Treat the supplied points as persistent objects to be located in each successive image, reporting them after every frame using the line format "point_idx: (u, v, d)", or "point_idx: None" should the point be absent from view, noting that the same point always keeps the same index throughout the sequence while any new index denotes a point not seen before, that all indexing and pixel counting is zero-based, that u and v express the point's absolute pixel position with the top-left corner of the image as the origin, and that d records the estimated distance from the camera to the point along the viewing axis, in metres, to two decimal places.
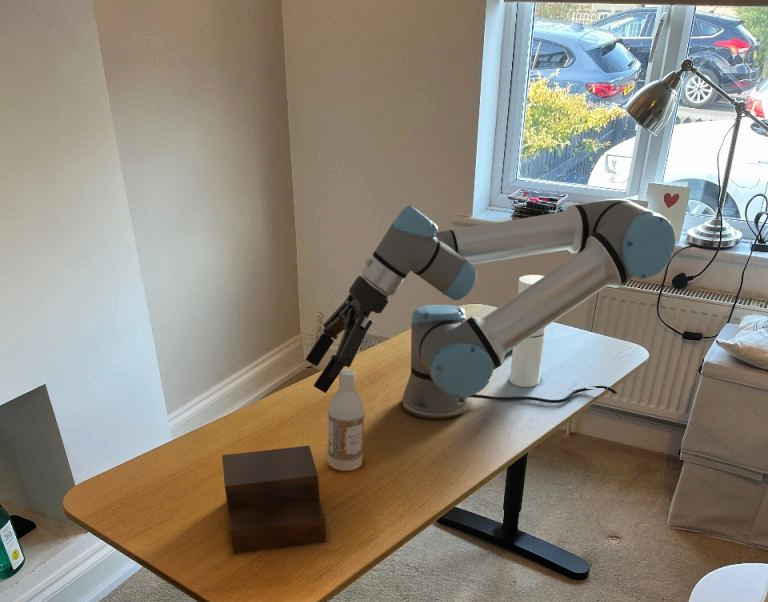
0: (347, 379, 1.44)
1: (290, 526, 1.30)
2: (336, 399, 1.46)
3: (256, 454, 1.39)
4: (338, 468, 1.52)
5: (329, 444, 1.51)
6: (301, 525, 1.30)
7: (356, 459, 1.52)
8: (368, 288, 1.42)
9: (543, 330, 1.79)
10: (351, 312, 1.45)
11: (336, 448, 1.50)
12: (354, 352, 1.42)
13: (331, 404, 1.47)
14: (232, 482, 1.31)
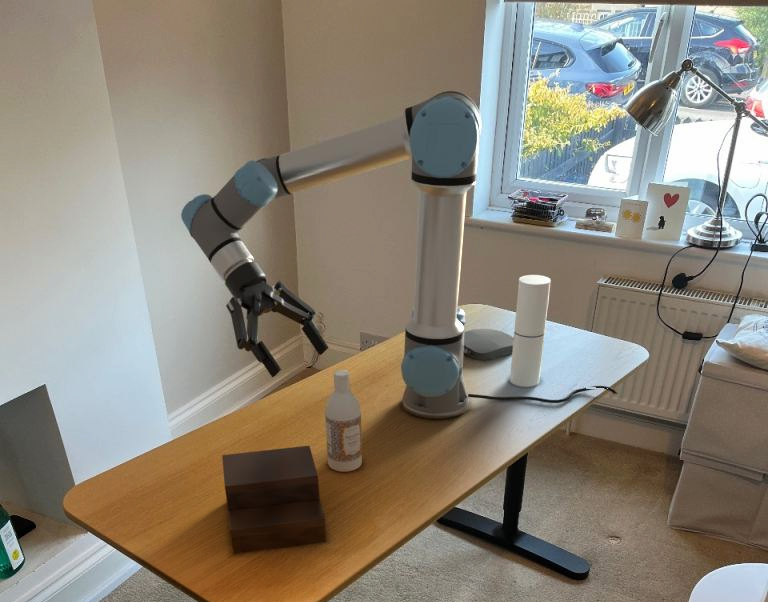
0: (341, 380, 1.44)
1: (290, 526, 1.30)
2: (332, 400, 1.46)
3: (256, 454, 1.39)
4: (338, 469, 1.52)
5: (328, 446, 1.51)
6: (301, 525, 1.30)
7: (355, 459, 1.52)
8: (225, 284, 1.48)
9: (543, 330, 1.79)
10: None
11: (335, 449, 1.50)
12: (239, 330, 1.43)
13: (327, 406, 1.47)
14: (232, 482, 1.31)
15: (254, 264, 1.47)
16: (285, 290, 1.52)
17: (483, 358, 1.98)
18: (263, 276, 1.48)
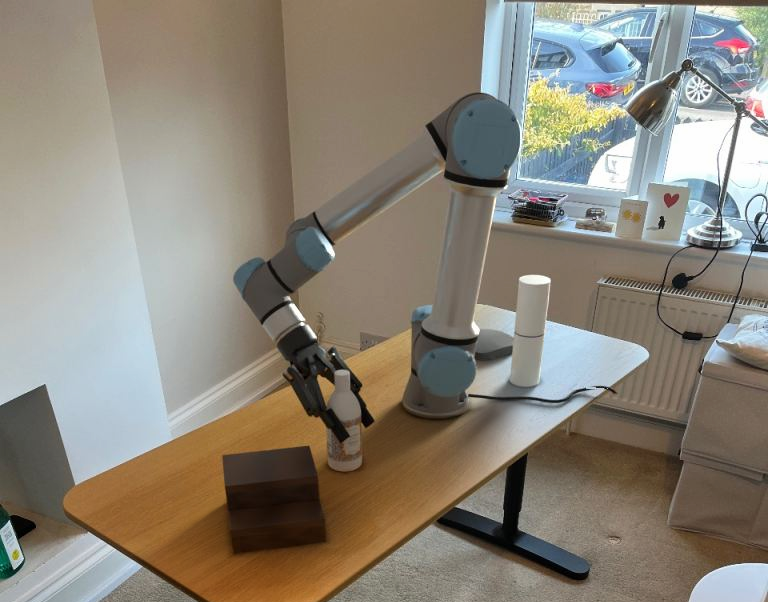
0: (342, 379, 1.44)
1: (290, 526, 1.30)
2: (332, 400, 1.46)
3: (256, 454, 1.39)
4: (338, 469, 1.52)
5: (328, 445, 1.51)
6: (301, 525, 1.30)
7: (355, 459, 1.52)
8: (277, 347, 1.47)
9: (543, 330, 1.79)
10: None
11: (335, 449, 1.50)
12: (306, 399, 1.43)
13: (328, 405, 1.47)
14: (232, 482, 1.31)
15: (306, 327, 1.46)
16: (337, 356, 1.51)
17: (483, 358, 1.98)
18: (315, 339, 1.47)
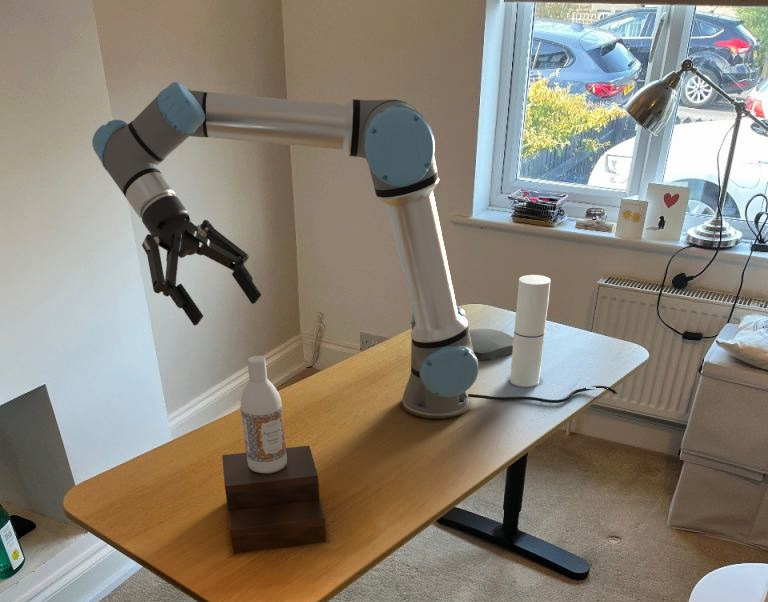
0: (256, 367, 1.24)
1: (290, 526, 1.30)
2: (246, 391, 1.26)
3: None
4: (258, 471, 1.33)
5: (245, 444, 1.32)
6: (301, 525, 1.30)
7: (278, 459, 1.32)
8: (142, 221, 1.32)
9: (543, 330, 1.79)
10: None
11: (253, 448, 1.30)
12: (155, 271, 1.26)
13: (242, 397, 1.27)
14: (232, 482, 1.31)
15: (174, 198, 1.31)
16: (212, 230, 1.36)
17: (483, 358, 1.98)
18: (185, 212, 1.31)
